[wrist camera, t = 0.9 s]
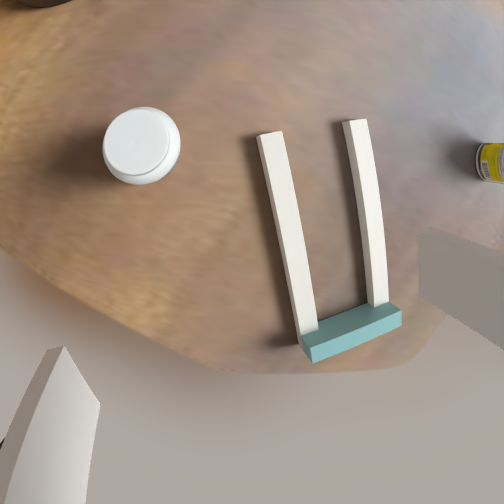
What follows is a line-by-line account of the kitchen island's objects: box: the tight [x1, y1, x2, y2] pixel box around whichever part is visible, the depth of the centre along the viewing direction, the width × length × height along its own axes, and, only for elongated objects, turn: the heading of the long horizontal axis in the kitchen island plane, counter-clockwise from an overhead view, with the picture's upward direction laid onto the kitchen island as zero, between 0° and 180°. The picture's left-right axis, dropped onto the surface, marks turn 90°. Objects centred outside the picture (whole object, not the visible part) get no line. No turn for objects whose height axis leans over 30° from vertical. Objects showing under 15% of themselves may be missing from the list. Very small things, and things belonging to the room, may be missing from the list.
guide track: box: [256, 119, 401, 363], centre depth 30 cm, size 22×11×4 cm, turn 13°
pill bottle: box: [103, 107, 180, 185], centre depth 21 cm, size 5×5×10 cm
